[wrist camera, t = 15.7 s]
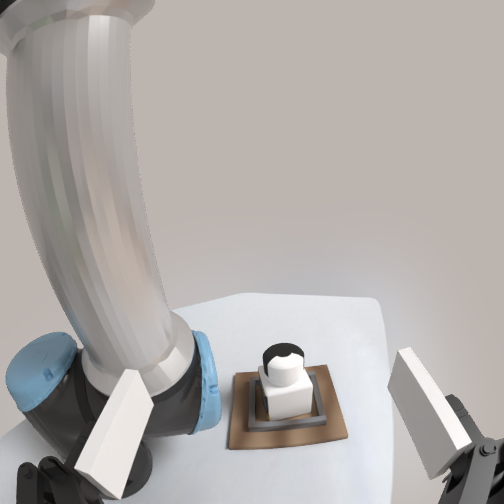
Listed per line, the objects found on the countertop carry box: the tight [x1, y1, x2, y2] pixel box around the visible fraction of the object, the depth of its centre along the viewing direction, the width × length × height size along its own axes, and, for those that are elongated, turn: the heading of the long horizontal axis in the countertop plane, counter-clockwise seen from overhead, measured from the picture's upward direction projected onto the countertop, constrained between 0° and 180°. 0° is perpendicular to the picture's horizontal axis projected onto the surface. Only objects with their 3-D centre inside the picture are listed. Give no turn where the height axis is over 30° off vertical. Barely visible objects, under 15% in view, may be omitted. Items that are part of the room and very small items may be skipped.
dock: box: [229, 365, 348, 450], centre depth 41 cm, size 18×18×2 cm
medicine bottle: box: [258, 343, 313, 422], centre depth 39 cm, size 7×7×12 cm
